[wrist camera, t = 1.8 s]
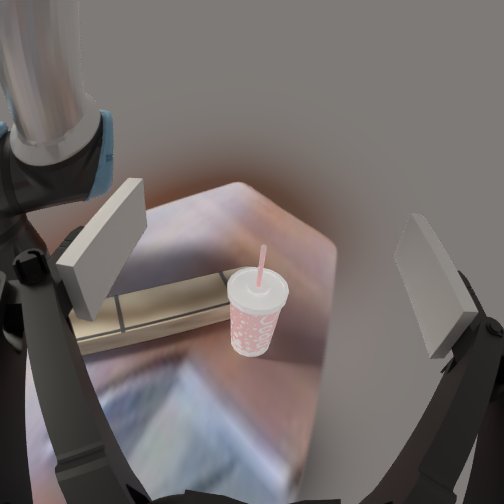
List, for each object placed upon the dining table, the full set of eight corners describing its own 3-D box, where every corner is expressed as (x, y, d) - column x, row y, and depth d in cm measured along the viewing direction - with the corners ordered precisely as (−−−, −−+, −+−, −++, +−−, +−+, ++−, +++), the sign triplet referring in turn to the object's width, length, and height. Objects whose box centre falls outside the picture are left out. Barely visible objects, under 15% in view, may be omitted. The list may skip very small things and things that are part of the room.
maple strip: (64, 321, 35) (57, 307, 34) (246, 279, 45) (247, 265, 44) (66, 358, 31) (58, 345, 29) (265, 308, 41) (267, 294, 39)
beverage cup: (231, 366, 34) (239, 273, 25) (219, 325, 38) (222, 229, 30) (283, 356, 35) (309, 264, 27) (266, 317, 40) (283, 224, 31)
